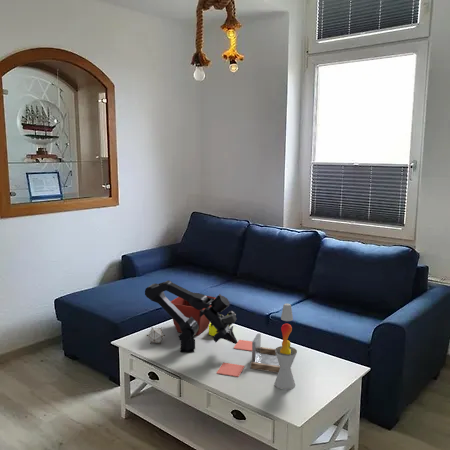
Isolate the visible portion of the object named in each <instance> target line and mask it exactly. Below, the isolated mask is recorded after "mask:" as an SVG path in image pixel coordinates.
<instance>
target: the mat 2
mask: <svg viewBox="0 0 450 450" xmlns="http://www.w3.org/2000/svg"><path fill="white" fill-rule="evenodd" d="M252 342H253V340H252V341H251V340H244V339H238V340H237V343H236V344H235V345H234V346H233V349H235V350H239V351H241V350H242V351H246V352H247V351H249V352H252Z"/></svg>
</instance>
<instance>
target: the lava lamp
mask: <svg viewBox="0 0 450 450" xmlns="http://www.w3.org/2000/svg"><path fill="white" fill-rule="evenodd" d="M280 319H281V320H282V321H284V322H291V321H293V320H294V318H293V308H292V305H291V304H290V303H284V304H283V306H282V311H281V316H280ZM280 330H281V335H282V342H281V345H280V346H277V347H275V348H274V349H275V353H276V355H275V356H277V359H278V362H279V366H280V369H279V372H277V374H276V375H277V376H276V378H275V381H274V386H275V387H276V388H277V389H281V390H286V391H287V390H293V389H294V388H295V387H296V382H295V379H294V378H295V377H294V374H293V371H292V369H291V368H292V365H293V363H294V361H295V358H296V356H297V352H298V350H297V349H296V348H295V347H292V345H291V341H290V340H288V339H289V336H290V334H291V333H292V331H293V327H292V325H291V324H289V323H284V324H282V325H281V327H280Z"/></svg>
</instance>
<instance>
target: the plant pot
mask: <svg viewBox="0 0 450 450" xmlns="http://www.w3.org/2000/svg"><path fill="white" fill-rule="evenodd" d="M206 296H207V297H208V298H212V299H215V298H216V296H215V297H214V296H210V295H209V296H208V295H206ZM169 301H170V302H171V303H172V304H173V305H174V306H175V307H176V308H177V309H178V310H179V311H180V312H181V313H182V314H183V315H184V316H185V317H187V318H190V317H193V319H194V320H195V321H197V324H198V325H199V330H198V332H197V333H196V334H195V335H194V336H196V337H197V336H199V335H200V334H202V333H203V332H204V331H206V330H208V329H209V324H210V321H209V320H208V319H207V318H206V317H205V316H204V315H203V316H201V317H200V311H201V310H197V309H195V308H194V307H193V306H191V305H190V303H189V302H188V301H186V300H184V299H182V298H180V297H178V296H176V298H174V299H173V300H169ZM209 307H211V305H210V306H209ZM204 309H205V308H203V309H202V310H204ZM171 319H172V322H173V325H174V328H175V329H176V332H178V333H182V331H181V329H180V327H179V324H178V323H177V322H176V321H175V320H174V319H173V318H172V317H171Z"/></svg>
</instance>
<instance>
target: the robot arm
mask: <svg viewBox="0 0 450 450" xmlns="http://www.w3.org/2000/svg"><path fill="white" fill-rule="evenodd" d="M165 292H169V293H170V294H173V295H175V296H176V297H180V298H182V299H184V300H186V301H188V302H189V303H190V305H191V306H193V307H194V308H195V309H197V310H201V311H200V317H201V316H203V315H204V316H205V317H206V318H207V319H208V320H209V321H210V323H211V326H214V327H215V328H216V329H217V331H216V332H217V333H216V334H215V335H214V336H212V340H213V341H214V343H217V342H218V341H219V340H222V339H223V340H225V341H227V342H229V343H232V344H235V345H236V344H237V342H238V340H237V338H236V336H235V334H234V331H233V330H234V325H233V324H235V323H236V321H237V317H236V316H237V313H235V311H233V310H230V311H228V313H227V316H226V315H224V314H220V313H222V312H223V311H224V310H226V309H227V308H228V307H230V305H231V304H230V301H229V299H228V298H227V297H226V296H224V295H222V294H221V293H219V294H218V295H217V296H215V299H212V298H208V297H207V296H208V295H205V294H203V293H198V292H193V291H190V290H188V289H186V288H184V287H182V286H180V285H179V284H177V283H174V282H173V281H171V280H166V281H164V282H160V283H152V284H151V285H149V286H147V287H146V288H145V289H144V295H145V297H146V298H147V299H149V300H150V301H151V302H154V303H156V304H158V305H159V306H160V307H161V308H162V309H163V310H164V311H165V312H166V313H167V314H168V315H169V316H170V317H171V319H172V318H173V319H174V320H175V321H176V322H177V323H178V324H179V327H180V329H181V331H182V332H180V334H179V335H178V340H179V341H180V351H179V352H180V353H195V350H196V339H195V336H196V335H195V334H196V333H197V332H198V330H199V325H198V324H197V321H195V320H194V319H193V317H190V318H187V317H185V316H184V315H183V314H182V313H181V312H180V311H179V310H178V309H177V308H176V307H175V306H174V305H173V304H172V303H171V302H170V301H171V300H170V299H168V297H166V295H165ZM210 305H211V307H209V306H210ZM203 308H205V309H204V310H202V309H203ZM173 319H172V320H173ZM210 323H209V324H210ZM230 325H231V326H230ZM229 326H230V327H229Z"/></svg>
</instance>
